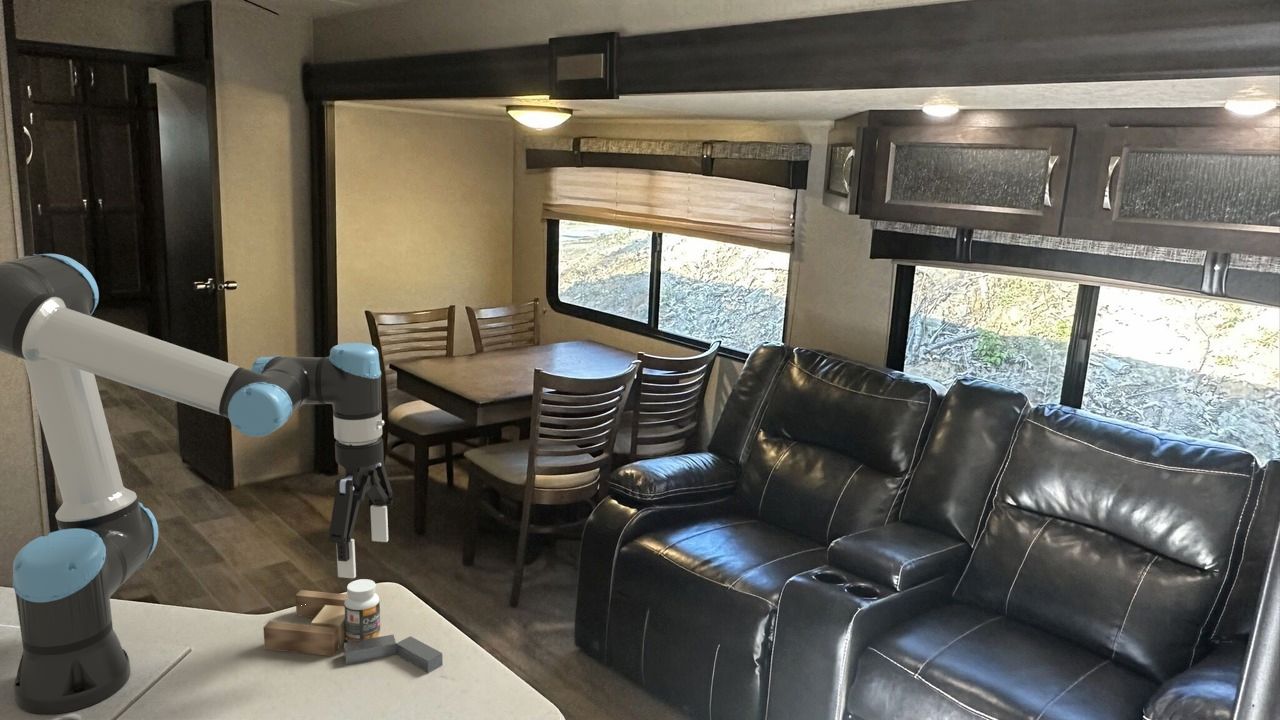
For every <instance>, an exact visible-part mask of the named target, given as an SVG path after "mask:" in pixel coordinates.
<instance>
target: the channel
mask: <svg viewBox="0 0 1280 720" xmlns="http://www.w3.org/2000/svg"><path fill="white" fill-rule="evenodd" d="M347 597H348V594H347V593H334V592H327V591H326V592H324V591H315V590H306V589H300V590H299V591H298V592H297V593H296V594H295V608H296V609H295V613H296V616H297V617H307V618H315V617H316V616H317V615H318V614H319V612H320V611H321V610H322V609H323V607H324V606H325V605H332V606H344V603H345V599H346V598H347ZM305 604H306V605H305ZM301 605H302V606H301ZM262 628H263V639H264V640H263V642H264V649H265V650H272V651H273V650H274V651H282V652H292V653H299V654H300V653H301V654H311V655H319V656H328V657H334V656H335V655H336V654H337V653H338V651H339V646H340V645H339V643H338V628H331V627H322V626H312V625H311V624H310V625H309V624H302V623H301V624H300V623H291V622H290V623H289V622H279V621H270V620H269V621H267V623H266V624H265V625H264V626H263V627H262Z"/></svg>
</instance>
